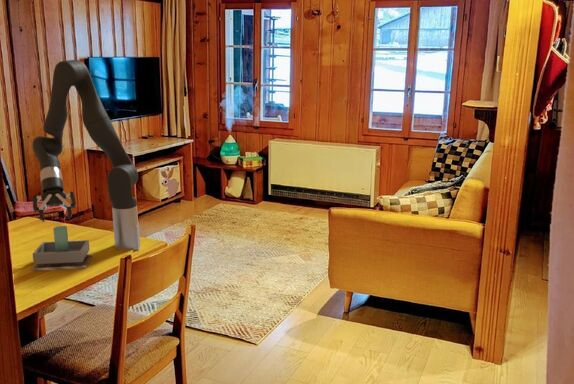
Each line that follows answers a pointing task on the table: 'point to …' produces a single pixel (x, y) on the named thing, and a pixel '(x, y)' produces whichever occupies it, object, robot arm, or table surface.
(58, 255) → the grey shallow tray
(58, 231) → the teal rectangular block
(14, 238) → the table surface
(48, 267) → the rail board
